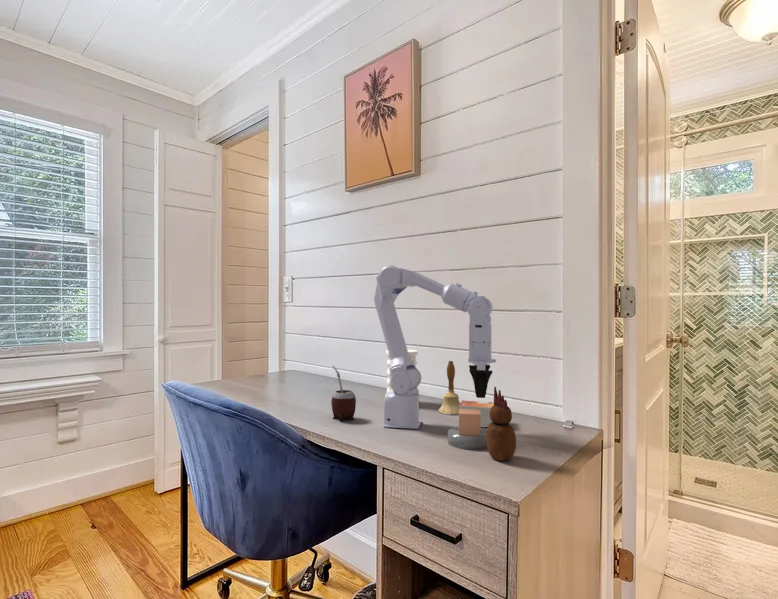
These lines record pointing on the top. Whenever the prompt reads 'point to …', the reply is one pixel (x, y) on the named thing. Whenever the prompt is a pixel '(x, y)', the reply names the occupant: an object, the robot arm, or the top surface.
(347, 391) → the mate gourd
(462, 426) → the block
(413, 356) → the decorative container
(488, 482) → the top surface
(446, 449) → the top surface
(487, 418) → the small box
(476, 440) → the pedestal
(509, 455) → the wooden figurine
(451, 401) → the hand bell
